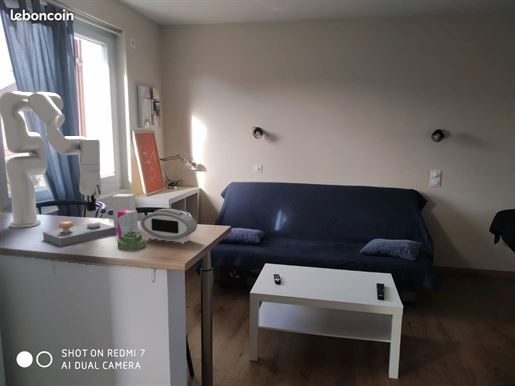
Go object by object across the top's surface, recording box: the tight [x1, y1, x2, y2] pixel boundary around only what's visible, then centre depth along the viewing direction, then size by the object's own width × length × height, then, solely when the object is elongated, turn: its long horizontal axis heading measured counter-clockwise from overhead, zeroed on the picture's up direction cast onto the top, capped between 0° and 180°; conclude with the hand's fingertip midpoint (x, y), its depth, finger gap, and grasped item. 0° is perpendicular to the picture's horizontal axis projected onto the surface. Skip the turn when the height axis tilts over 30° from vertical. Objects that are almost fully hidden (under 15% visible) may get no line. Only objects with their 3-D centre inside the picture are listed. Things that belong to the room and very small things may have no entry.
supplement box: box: [117, 210, 139, 240], centre depth 171 cm, size 6×6×12 cm
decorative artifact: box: [117, 229, 146, 251], centre depth 160 cm, size 10×7×10 cm
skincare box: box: [111, 193, 136, 231], centre depth 185 cm, size 8×7×16 cm
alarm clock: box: [140, 208, 198, 244], centre depth 169 cm, size 23×6×13 cm, turn 68°
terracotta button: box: [58, 220, 74, 234], centre depth 167 cm, size 5×5×5 cm
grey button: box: [86, 220, 101, 229], centre depth 177 cm, size 5×5×5 cm
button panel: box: [42, 222, 117, 247], centre depth 172 cm, size 14×24×3 cm, turn 142°
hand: (91, 210), depth 176 cm, fingers closed
